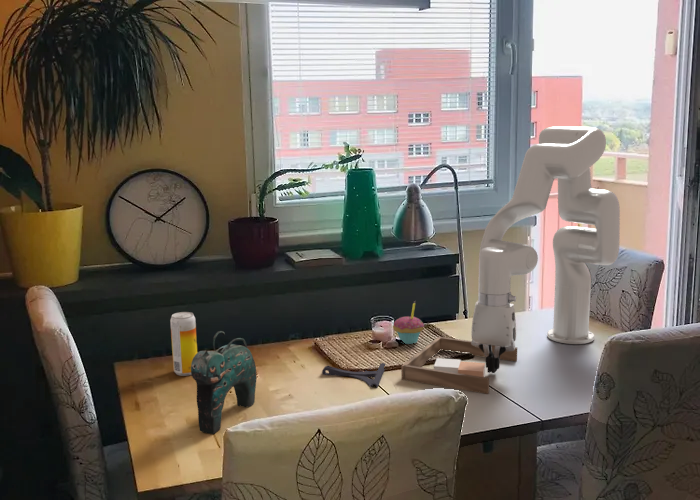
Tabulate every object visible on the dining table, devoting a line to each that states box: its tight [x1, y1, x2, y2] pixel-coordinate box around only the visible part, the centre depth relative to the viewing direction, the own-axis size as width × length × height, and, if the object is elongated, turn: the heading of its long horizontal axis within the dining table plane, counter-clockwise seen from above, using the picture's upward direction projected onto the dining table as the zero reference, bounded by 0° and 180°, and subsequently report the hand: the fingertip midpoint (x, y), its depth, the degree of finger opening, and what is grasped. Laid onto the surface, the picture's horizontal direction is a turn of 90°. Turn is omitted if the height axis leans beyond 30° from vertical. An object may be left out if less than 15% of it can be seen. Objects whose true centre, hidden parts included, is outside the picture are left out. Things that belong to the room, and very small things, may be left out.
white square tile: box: [433, 357, 462, 373], centre depth 186 cm, size 6×6×3 cm
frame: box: [401, 336, 518, 395], centre depth 188 cm, size 25×22×4 cm
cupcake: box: [392, 300, 425, 345], centre depth 210 cm, size 9×8×12 cm
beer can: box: [169, 311, 198, 377], centre depth 188 cm, size 6×6×15 cm
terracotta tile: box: [458, 360, 486, 377], centre depth 183 cm, size 6×6×3 cm
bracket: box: [321, 362, 386, 389], centre depth 185 cm, size 14×15×3 cm
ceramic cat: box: [190, 330, 258, 435], centre depth 160 cm, size 20×6×20 cm, turn 156°
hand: (492, 370), depth 184 cm, fingers closed
